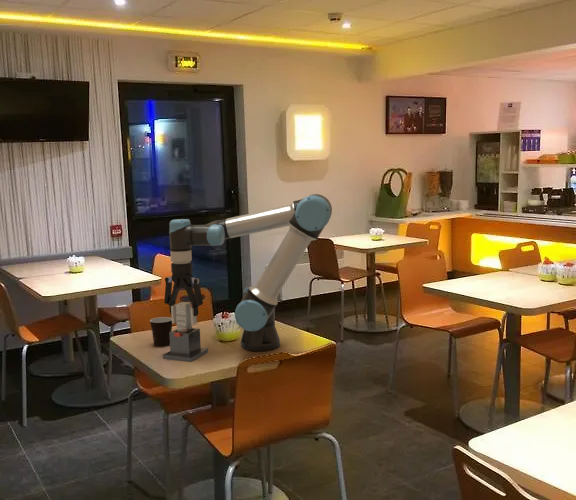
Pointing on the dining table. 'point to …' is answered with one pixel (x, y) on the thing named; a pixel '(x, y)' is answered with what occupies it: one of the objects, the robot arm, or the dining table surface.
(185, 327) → the column
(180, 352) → the stand base
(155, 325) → the coffee mug
